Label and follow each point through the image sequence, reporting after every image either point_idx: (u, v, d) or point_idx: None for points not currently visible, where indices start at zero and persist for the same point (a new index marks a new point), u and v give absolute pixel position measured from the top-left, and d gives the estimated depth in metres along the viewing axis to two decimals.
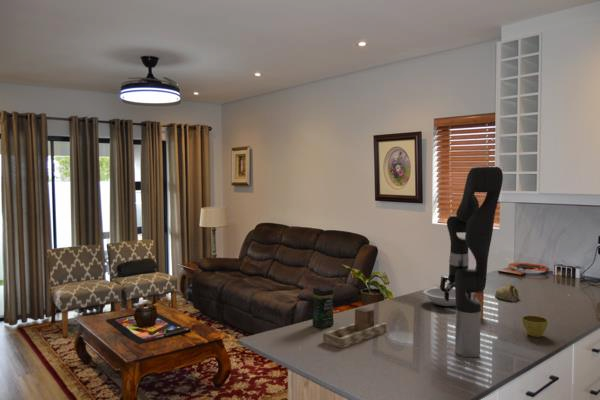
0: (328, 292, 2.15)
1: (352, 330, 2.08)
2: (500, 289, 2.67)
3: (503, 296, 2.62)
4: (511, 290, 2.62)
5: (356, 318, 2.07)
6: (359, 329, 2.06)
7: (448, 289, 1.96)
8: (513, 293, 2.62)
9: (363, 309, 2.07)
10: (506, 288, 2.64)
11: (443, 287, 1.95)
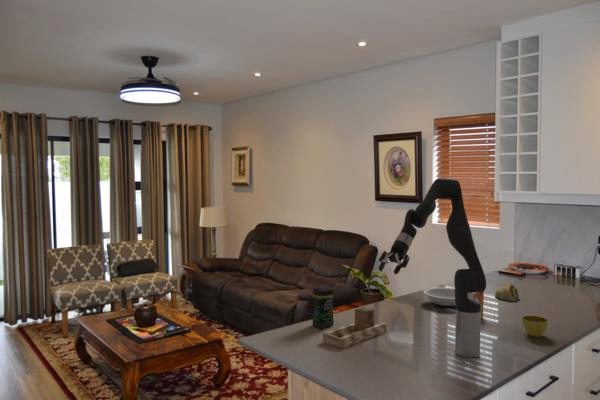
0: (328, 292, 2.15)
1: (352, 330, 2.08)
2: (500, 289, 2.67)
3: (503, 296, 2.63)
4: (511, 290, 2.63)
5: (356, 318, 2.07)
6: (359, 329, 2.06)
7: (383, 259, 2.23)
8: (513, 293, 2.62)
9: (363, 309, 2.07)
10: (506, 288, 2.64)
11: (381, 257, 2.24)
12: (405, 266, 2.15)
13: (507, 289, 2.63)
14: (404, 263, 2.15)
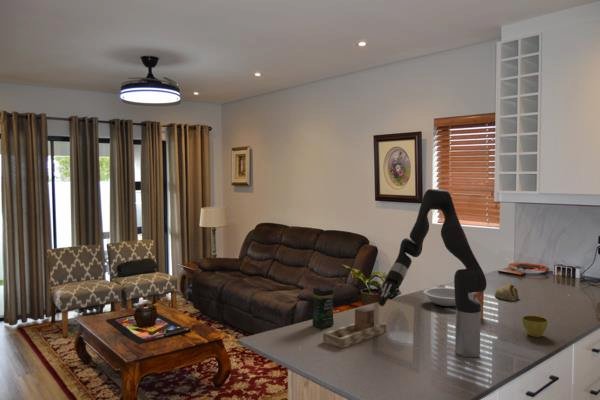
0: (328, 292, 2.15)
1: (352, 330, 2.08)
2: (500, 289, 2.67)
3: (503, 296, 2.63)
4: (511, 290, 2.63)
5: (356, 318, 2.07)
6: (359, 329, 2.06)
7: (382, 293, 2.18)
8: (513, 293, 2.62)
9: (363, 309, 2.07)
10: (506, 288, 2.65)
11: (379, 291, 2.20)
12: (391, 298, 2.16)
13: (507, 289, 2.63)
14: (390, 296, 2.15)
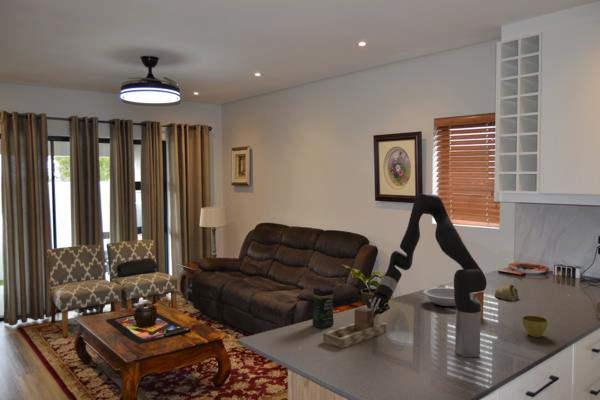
0: (328, 292, 2.15)
1: (352, 330, 2.08)
2: (500, 288, 2.68)
3: (503, 296, 2.64)
4: (511, 289, 2.64)
5: (356, 318, 2.07)
6: (359, 329, 2.06)
7: (371, 308, 2.13)
8: (513, 292, 2.63)
9: (363, 309, 2.07)
10: (506, 287, 2.65)
11: (368, 306, 2.14)
12: (380, 313, 2.10)
13: (507, 289, 2.64)
14: (379, 311, 2.09)
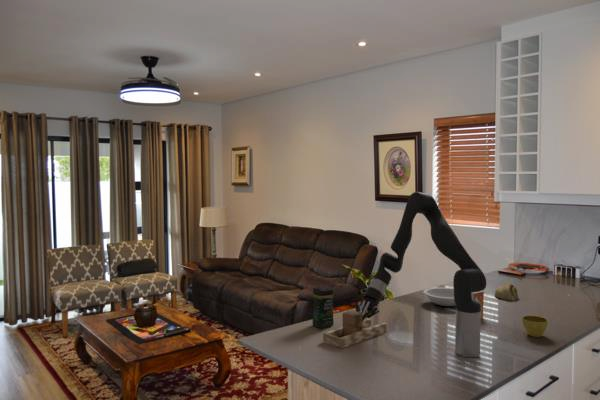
0: (328, 292, 2.15)
1: None
2: (500, 288, 2.68)
3: (503, 296, 2.64)
4: (511, 289, 2.64)
5: (344, 322, 2.02)
6: (347, 333, 2.00)
7: (360, 311, 2.07)
8: (513, 292, 2.63)
9: (351, 313, 2.02)
10: (506, 287, 2.65)
11: (357, 309, 2.09)
12: (368, 317, 2.05)
13: (507, 288, 2.64)
14: (368, 314, 2.04)
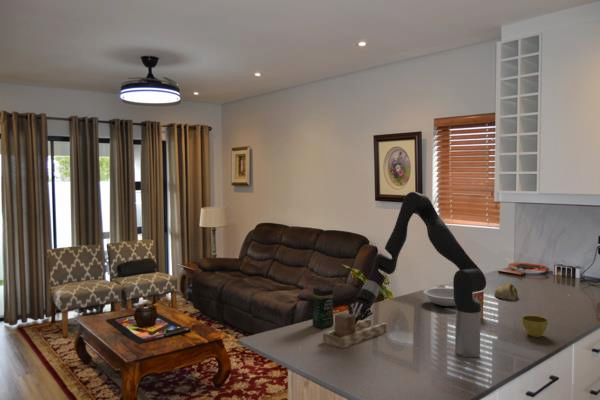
0: (328, 292, 2.15)
1: None
2: (500, 288, 2.69)
3: (503, 296, 2.64)
4: (511, 289, 2.64)
5: (336, 324, 1.98)
6: (339, 336, 1.97)
7: (353, 313, 2.04)
8: (513, 292, 2.64)
9: (343, 315, 1.98)
10: (506, 287, 2.66)
11: (350, 311, 2.06)
12: (361, 319, 2.02)
13: (507, 288, 2.65)
14: (361, 317, 2.01)
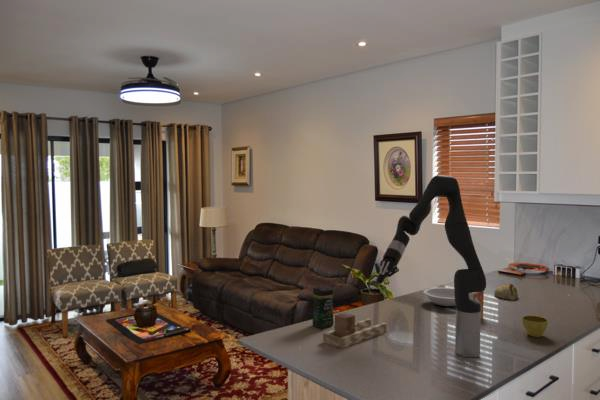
0: (328, 292, 2.15)
1: None
2: (499, 288, 2.69)
3: (503, 295, 2.65)
4: (510, 289, 2.65)
5: (336, 324, 1.98)
6: (339, 336, 1.97)
7: (380, 271, 2.14)
8: (512, 292, 2.64)
9: (343, 315, 1.98)
10: (506, 287, 2.66)
11: (377, 269, 2.15)
12: (389, 276, 2.11)
13: (507, 288, 2.65)
14: (388, 273, 2.10)
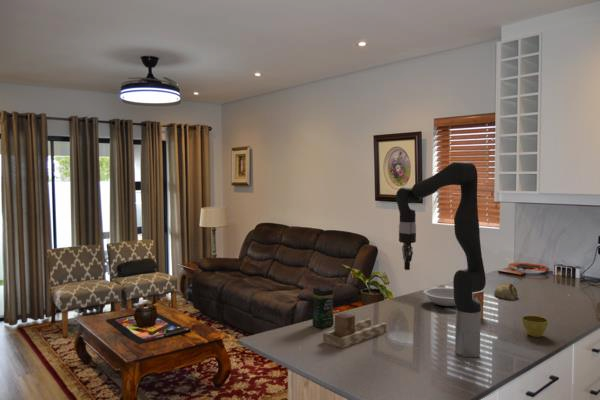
0: (328, 292, 2.15)
1: None
2: (499, 288, 2.70)
3: (503, 295, 2.65)
4: (510, 288, 2.66)
5: (336, 324, 1.98)
6: (339, 336, 1.97)
7: (404, 257, 2.15)
8: (512, 291, 2.65)
9: (343, 315, 1.98)
10: (505, 287, 2.67)
11: (403, 255, 2.17)
12: (410, 260, 2.11)
13: (507, 288, 2.66)
14: (406, 260, 2.10)
